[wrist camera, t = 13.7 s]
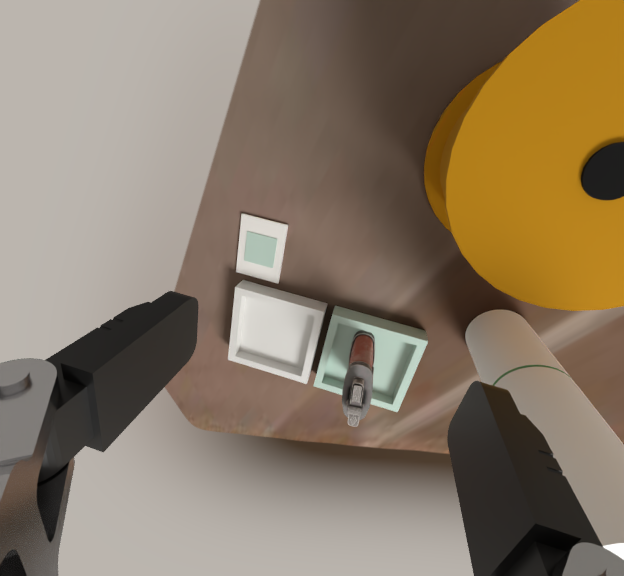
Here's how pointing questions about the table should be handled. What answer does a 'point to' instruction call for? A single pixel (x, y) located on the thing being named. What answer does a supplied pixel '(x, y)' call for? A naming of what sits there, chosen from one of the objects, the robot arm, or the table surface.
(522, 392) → the cylindrical container
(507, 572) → the robot arm
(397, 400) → the green tray
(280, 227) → the card
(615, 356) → the table surface
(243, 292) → the white tray
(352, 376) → the lighter
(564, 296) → the spool
